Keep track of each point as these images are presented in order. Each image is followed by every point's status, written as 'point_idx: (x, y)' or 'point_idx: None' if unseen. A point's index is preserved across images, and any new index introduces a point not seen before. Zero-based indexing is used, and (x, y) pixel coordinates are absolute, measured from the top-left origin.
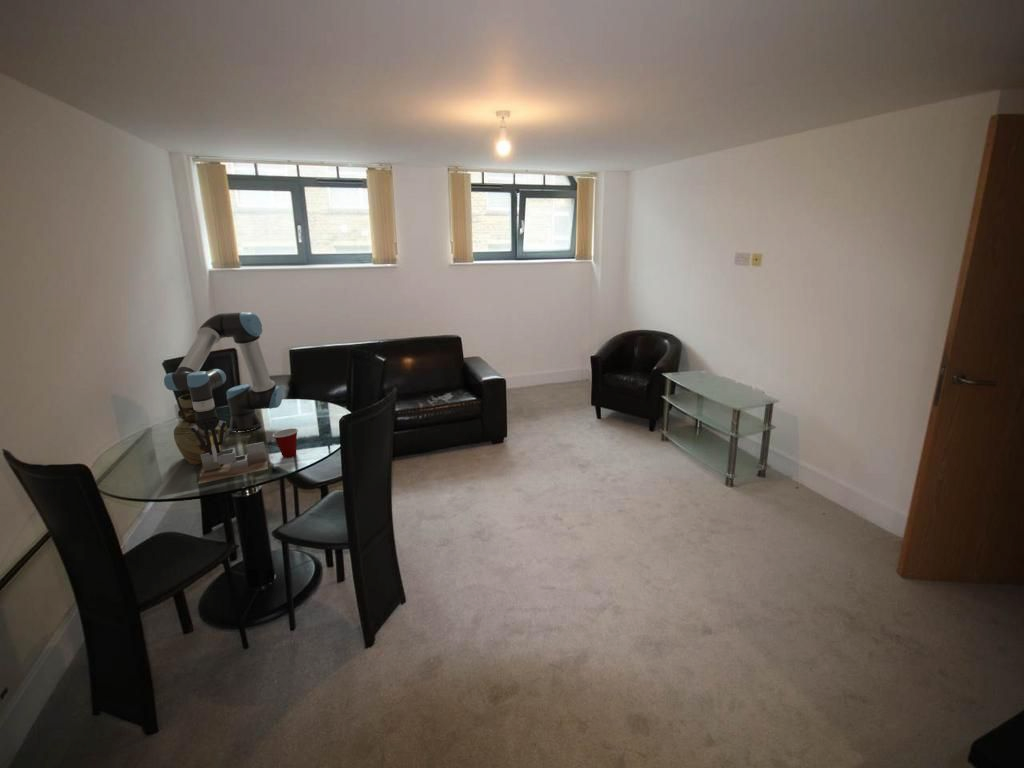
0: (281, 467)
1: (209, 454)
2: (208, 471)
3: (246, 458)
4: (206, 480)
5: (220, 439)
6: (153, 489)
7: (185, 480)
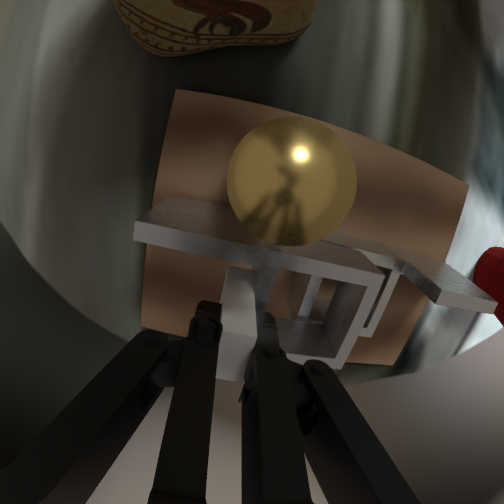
0: (425, 351)
1: (198, 250)
2: None
3: (378, 319)
4: (172, 318)
5: (305, 439)
6: (11, 215)
7: (95, 209)
